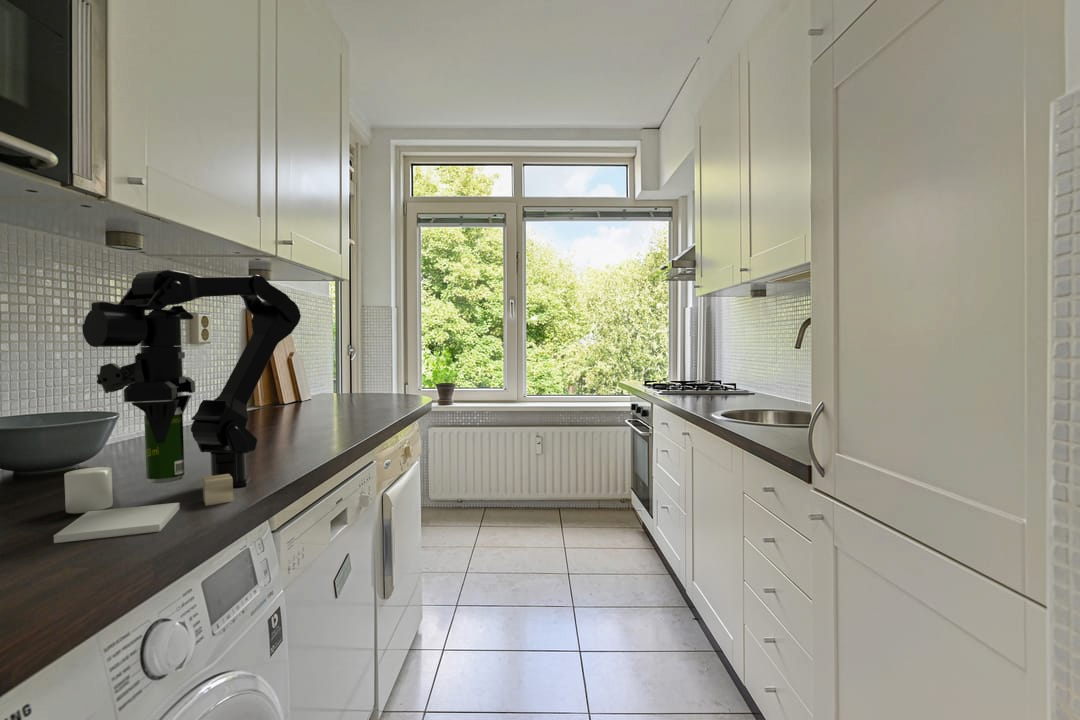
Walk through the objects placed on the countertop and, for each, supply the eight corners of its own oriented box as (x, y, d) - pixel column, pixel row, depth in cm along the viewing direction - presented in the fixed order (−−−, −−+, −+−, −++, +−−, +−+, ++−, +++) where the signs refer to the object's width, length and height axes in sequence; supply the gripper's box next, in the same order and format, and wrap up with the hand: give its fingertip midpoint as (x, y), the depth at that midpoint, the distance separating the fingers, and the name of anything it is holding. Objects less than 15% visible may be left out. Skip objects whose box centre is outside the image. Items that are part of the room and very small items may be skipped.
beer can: (191, 475, 99) (188, 406, 99) (174, 483, 94) (171, 409, 93) (157, 476, 99) (155, 406, 98) (139, 484, 93) (136, 410, 93)
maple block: (203, 500, 97) (202, 477, 97) (230, 496, 99) (229, 473, 99) (205, 506, 94) (204, 481, 94) (233, 501, 96) (232, 477, 96)
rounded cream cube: (74, 505, 95) (73, 469, 95) (117, 501, 97) (116, 465, 97) (59, 515, 90) (57, 476, 89) (105, 510, 92) (104, 473, 92)
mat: (88, 518, 88) (88, 511, 88) (179, 508, 92) (179, 502, 92) (53, 543, 76) (53, 535, 76) (159, 531, 81) (159, 524, 81)
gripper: (121, 347, 101) (125, 435, 102) (80, 347, 84) (84, 454, 84) (194, 346, 105) (197, 431, 106) (169, 346, 88) (172, 447, 88)
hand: (164, 440), depth 96 cm, fingers closed on beer can, 5 cm apart
